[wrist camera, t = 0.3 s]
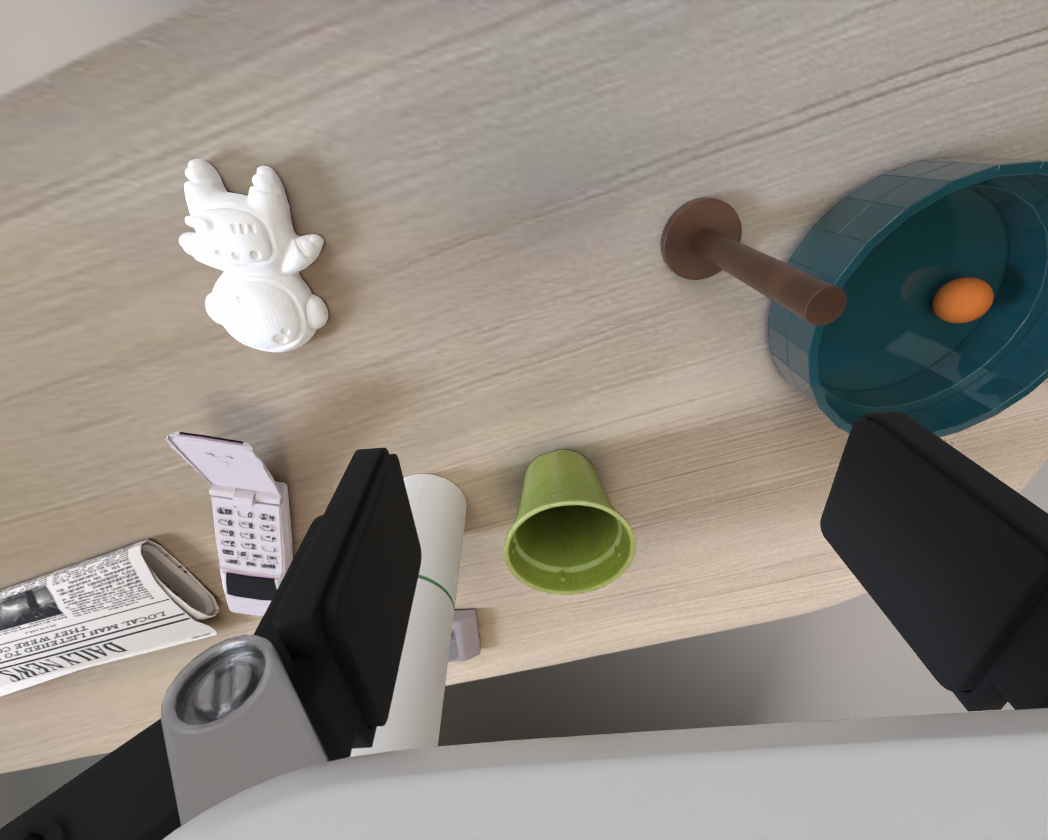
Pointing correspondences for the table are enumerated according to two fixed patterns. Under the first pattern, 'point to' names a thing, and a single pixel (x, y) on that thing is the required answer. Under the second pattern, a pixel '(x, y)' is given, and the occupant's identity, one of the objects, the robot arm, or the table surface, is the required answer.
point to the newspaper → (99, 614)
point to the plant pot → (567, 529)
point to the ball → (963, 300)
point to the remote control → (464, 636)
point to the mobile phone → (243, 518)
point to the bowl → (925, 295)
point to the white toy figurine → (253, 259)
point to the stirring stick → (743, 261)
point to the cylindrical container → (426, 618)
